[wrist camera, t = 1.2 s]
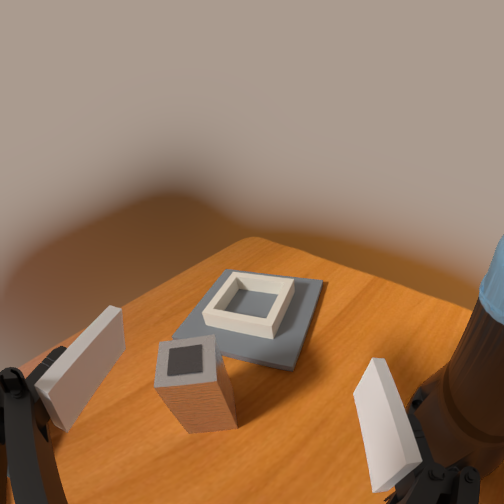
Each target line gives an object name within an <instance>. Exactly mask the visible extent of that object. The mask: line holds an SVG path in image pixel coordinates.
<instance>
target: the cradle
mask: <svg viewBox="0 0 504 504" xmlns="http://www.w3.org/2000/svg"><path fill="white" fill-rule="evenodd" d="M322 287H323V280H315V279H306V278H297V277H288V276H280V275H271V274H262V273H254V272H246V271H238V270H230V269H226V270H225V271H224V272H223V273H222V275H221V276H220V277H219V278H218V279H217V281H216V282H215V283H214V284H213V286H212V287H211V288H210V289H209V291H208V292H207V293H206V294H205V296H204V297H203V298H202V299H201V301H200V302H199V303H198V304H197V306H196V307H195V308H194V309H193V311H192V312H191V313H190V314H189V316H188V317H187V318H186V319H185V321H184V322H183V323H182V324H181V326H180V327H179V328H178V329H177V331H176V332H175V333H174V334H173V336H172V338H173V340H179V339H187V338H194V337H200V336H207V335H213V334H214V335H215V338H216V341H217V344H218V347H219V350H220V353H221V355H223V356H227V357H230V358H234V359H238V360H242V361H246V362H250V363H255V364H259V365H263V366H268V367H272V368H277V369H282V370H287V371H292V372H293V370H294V367H295V365H296V362H297V359H298V357H299V354H300V351H301V349H302V346H303V343H304V340H305V337H306V335H307V332H308V329H309V326H310V323H311V320H312V317H313V314H314V311H315V308H316V305H317V302H318V299H319V296H320V293H321V290H322Z"/></svg>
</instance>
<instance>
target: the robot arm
mask: <svg viewBox="0 0 504 504" xmlns="http://www.w3.org/2000/svg"><path fill="white" fill-rule="evenodd" d="M479 290H480V292H479V297H478V300H477V303H476V305H475V308H474V310H473V313H472V315H471V317H470V320H469V322H468V324H467V327H466V329H465V331H464V333H463V336H462V338H461V340H460V342H459V344H458V346H457V348H456V350H455V352H454V354H453V356H452V358H451V360H450V361H449V362H448V363H447V364H446V365H445V366H443V367H442V368H441V369H440V370H438V371H437V372H436V373H435V374H433V375H432V376H431V377H429V378H428V379H427V380H426V381H425V382H423V383H422V385H421V386H420V387H419V388H418V389H417V390H416V392H415V393H414V395H413V396H412V398H411V400H410V401H409V403H408V405H407V407H406V409H404V406H403V403H402V401H401V398H400V395H399V393H398V390H397V388H396V385H395V383H394V380H393V378H392V375H391V373H390V370H389V368H388V365H387V363H386V361H385V359H383V358H372V359H371V361H370V363H369V365H368V367H367V369H366V371H365V373H364V374H363V376H362V378H361V380H360V382H359V384H358V386H357V387H356V389H355V391H354V393H353V395H354V399H355V403H356V408H357V412H358V417H359V421H360V426H361V431H362V436H363V441H364V446H365V451H366V456H367V462H368V467H369V473H370V479H371V485H372V491H373V493H377V492H384V491H388V490H390V489H391V488H392V487H393V486H395V489H396V491H395V492H394V493H392V494H391V495H390V496H388V497H387V498H386V499H385V500H384V501H385V502H386V501H387V500H388V499H389V500H388V502H387V503H386V504H478V502H479V491H480V479H482V478H484V477H485V476H487V475H488V474H490V473H491V472H492V471H494V470H495V469H496V468H497V467H498V466H499V465H500V464H501V463H502V461H503V460H504V235H503V236H502V238H501V239H500V241H499V243H498V245H497V247H496V250H495V253H494V256H493V259H492V261H491V264H490V267H489V270H488V272H487V274H486V275H485V276H484V278H483V280H482V282H481V285H480V288H479ZM125 349H126V348H125V339H124V329H123V317H122V309H120V308H117V307H114V306H109V307H108V308H107V309H106V310H105V311H104V312H103V313H102V314H101V315H100V316H99V317H98V318H97V319H96V320H95V321H94V322H93V323H92V324H91V325H90V326H89V327H88V328H87V329H86V330H85V331H84V332H83V333H82V334H81V335H80V336H79V337H78V338H77V339H76V340H75V341H74V342H73V343H72V344H71V345H70V346H69V347H68V348H66V347H63V346H60V347H58V348H56V349H54V350H53V351H52V352H51V353H50V354H49V355H48V356H47V358H45V359H44V360H43V361H42V363H40V364H39V365H38V366H37V367H36V368H35V369H34V370H33V371H32V372H31V374H30V375H29V376H28V377H27V378H26V379H25V378H24V376H23V374H22V372H21V371H20V370H19V369H17V368H14V367H9V368H5V369H4V370H2V371H1V372H0V504H6V484H7V469H8V468H9V475H10V481H11V486H12V491H13V496H14V500H15V504H68V503H67V500H66V497H65V494H64V490H63V487H62V484H61V480H60V477H59V473H58V469H57V465H56V461H55V457H54V452H53V447H52V442H51V437H50V431H49V426H48V423H47V422H48V421H49V419H50V418H51V420H52V422H53V424H54V425H55V426H56V427H58V428H60V429H62V430H63V431H65V432H67V433H68V431H69V430H70V428H71V427H72V425H73V424H74V422H75V421H76V419H77V418H78V416H79V415H80V413H81V412H82V410H83V409H84V407H85V406H86V404H87V403H88V401H89V400H90V398H91V397H92V396H93V394H94V393H95V391H96V390H97V388H98V387H99V385H100V384H101V383H102V381H103V380H104V378H105V377H106V375H107V374H108V373H109V371H110V370H111V368H112V367H113V366H114V364H115V363H116V361H117V360H118V359H119V357H120V356H121V355H122V353H123V352H124V350H125Z"/></svg>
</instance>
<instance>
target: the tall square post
mask: <svg viewBox="0 0 504 504" xmlns="http://www.w3.org/2000/svg"><path fill="white" fill-rule="evenodd" d="M154 388H155V390H156V391H157V393H158V394H159V396H160V397H161V398H162V400H163V401H164V403H165V404H166V405H167V407H168V408H169V409H170V411H171V412H172V413H173V415H174V416H175V417H176V418H177V420H178V421H179V422H180V424H181V425H182V426H183V427H184V429H185V430H186V431H187V432H188V433H189V434H191V433H204V432H214V431H223V430H231V429H238V425H237V417H236V409H235V401H234V392H233V387H232V385H231V382H230V379H229V376H228V373H227V371H226V368H225V365H224V362H223V359H222V356H221V353H220V350H219V347H218V344H217V341H216V338H215V335H214V334H213V335H207V336H200V337H194V338H187V339H179V340H172V341H164V342H160V343H159V350H158V358H157V365H156V373H155V382H154Z"/></svg>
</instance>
